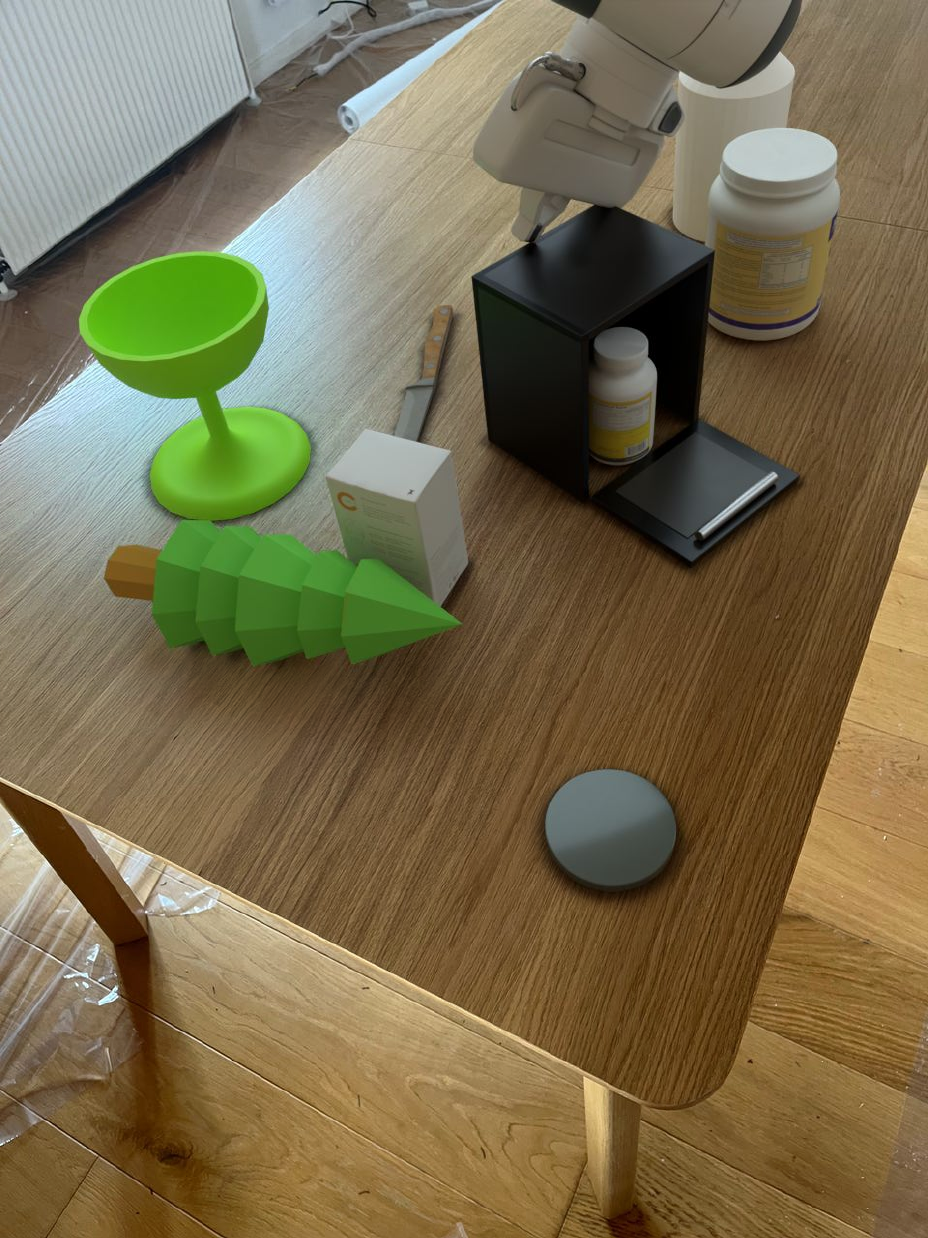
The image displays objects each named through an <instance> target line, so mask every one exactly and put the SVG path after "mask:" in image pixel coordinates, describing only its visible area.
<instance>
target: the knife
mask: <svg viewBox="0 0 928 1238" xmlns="http://www.w3.org/2000/svg"><path fill="white" fill-rule="evenodd" d="M453 316H454V309H453V306H452V305H451V304H443V305H438V306H436V307H435V308H433V310H432V319H433V323H432V327H431V329H430V331H429V333H428V336H427V338H426V340H425V342H424V357H423V368H422V375H421V379H419V380H418V381H415V382H413V383H409V384H407V385H406V387H405V389H404V390H405V391H406V393H405V396H404V399H403V403H402V407H401V411H400V414H399V418H398V421H397V424H396V427H395V431H394V435H393V436H396V437H400V438H404V439H408V440H412V441H415V442H419V439H420V436H421V433H422V429H423V426H424V423H425V420H426V417H427V414H428V411H429V410H430V409H429V408H430V405H431V403H432V400H433V396H434V395H435V393H436V392H435V391H436V389H437V385H438V376H439V371H440V368H441V363H442V359H443V355H444V350H445V346H446V344H447V339H448V336H449V332H450V329H451V324H452V320H453Z"/></svg>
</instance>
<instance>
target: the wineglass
mask: <svg viewBox="0 0 928 1238" xmlns="http://www.w3.org/2000/svg"><path fill="white" fill-rule="evenodd" d="M269 310H270V307H269V299H268V290H267V285H266V281H265V278H264V274H263V273H262V272H261V271H260V270H259V269H258V268H257V267H256V266H255V265H254V263H252V262H251V261H248V260H246V259H244V258H242V257H240V256H238V255H234V254H229V253H225V252H221V251H205V250H204V251H201V250H197V251H196V250H195V251H186V252H185V251H184V252H177V253H171V254H167V255H163V256H160V257H159V256H158V257H155V258H152V259H149V260H146V261H144V262H143V261H142V262H141V263H139V264H136V265H133V266H131V267H129V268H127V269H125V270H123V271H121V272H120V273H118V274H116V275H115V276H113V277H111V278H110V279H108V280H107V281H105V282H104V283H103V284H102V285H101V286H100V287H99V288H97V289H96V290H95V291H94V292H93V293H92V294H91V295H90V297H89V298H88V300H87V301H86V302H85V303H84V305H83V307H82V310H81V313H80V315H79V318H78V327H79V334H80V335H81V337H82V339H83V340H84V343H86V345H87V346H88V348H89V350H90V351H91V353H92V354H93V356H94V357H95V359H96V360H97V362H98V364H99V365H100V366H101V367H103V369H105V370H106V371H107V372H109V374H110V375H111V376H113V377H114V378H115V379H116V380H118V381H120V382H121V383H123V384H124V385H126V387H128V388H131V389H133V390H136V391H139V392H141V393H142V394H146V395H149V396H152V397H155V398H158V399H165V400H166V399H168V400H186V399H195V400H196V401H197V404H198V407H199V411H200V412H201V415H202V416H200V417H197V418H195V419H193V420H190V421H189V422H187V423H186V424H184V425H183V426H181V427H180V428H178V429H177V430H175V431H174V432H173V433H172V434H171V435H170V436H169V437H168V438H167V439H166V440H165V441H164V442H163V443H162V444H161V446H160V447H159V449H158V451H157V452H156V454H155V456H154V457H153V460H152V464H151V467H150V470H149V471H150V472H149V480H150V489H151V492H152V494H153V496H154V497H155V499H156V500H157V502H158V504H160V505H161V506H162V507H164V508H165V509H166V510H167V511H169V512H170V513H172V514H175V515H177V516H180V517H183V518H185V519H187V520H210V521H211V522H213V521H225V520H233V519H237V518H241V517H245V516H248V515H252V514H254V513H256V512H259V511H261V510H263V509H265V508H268V507H269V506H272V505H273V504H275V503H276V502H278V501H279V500H280V499H282V498H283V497H285V496H286V495H288V494H289V493H290V492H291V491H292V490H293V489H294V488H295V487H296V486H297V484H298V483H299V482H300V481H301V480H302V478H303V477H304V475H305V473H306V471H307V470H308V467H309V465H310V463H311V453H312V446H311V443H310V440H309V437H308V434H307V433H306V432H305V431H304V429H303V428H302V426H300V424H299V423H298V422H297V421H296V420H294V419H292V418H290V417H289V416H287V415H286V414H284V413H282V412H280V411H277V410H273V409H269V408H266V407H256V406H239V407H238V406H237V407H227V408H223V407H222V405H221V401H220V399H219V395H218V394H217V392H218V391H220V390H221V389H223V388H224V387H226V386H227V385H229V384H230V383H233V382H234V381H235V380H237V379H238V378H239V377H241V375H242V374H243V373H245V371H246V370H247V369H248V368H249V367H250V366H251V363H252V362H253V360H254V358H255V357H256V355H257V353H258V351H259V350H260V348H261V346H262V344H263V343H264V338H265V333H266V328H267V322H268V316H269Z"/></svg>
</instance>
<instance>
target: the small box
mask: <svg viewBox="0 0 928 1238" xmlns="http://www.w3.org/2000/svg"><path fill="white" fill-rule="evenodd" d="M452 451H453V450H451V449H446V448H442V447H438V446H436V445H435V446H434V445H431V444H427V443H423V442H419V441H418V442H415V441H412V440H408V439H404V438H400V437H396V436H394V435H392V434H388V433H385V432H381V431H377V430H373V429H370V428H365V429H363V430H362V432H361V433H360V434H359V435H358V437H357V438H356V439H355V440H354V442H353V443H352V444H351V446H350V447H349V448H348V449H346V452H344V454H343V455H342V456H341V458H340V459H339V460H338V461H337V462H336V463H335V465H333V467H332V468H331V469H330V470H329V472H328V473H327V474H326V475H325V479H326V483H327V486H328V489H329V493H330V497H331V501H332V504H333V509H334V512H335V517H336V520H337V523H338V527H339V530H340V534H341V538H342V541H343V547H344V548H345V549H344V550H345V553H346V556H347V557H346V558H347V559H348V560H350V561H351V562H352V563H353V564H355V565H356V566H358V564H359V562H360V560H361V559H380V560H381V561H382V562H383V563H385V564H386V565H387V566H389V567H390V568H391V569H392V570H394V571H395V572H396V573H398V574H399V575H400V576H401V577H403V578H404V579H405V580H407V581H408V582H409V583H410V584H412V585H413V586H414V587H416V588H417V589H418V590H419V591H421V592H422V593H423V594H425V595H426V596H427V597H428V598H430V599H431V600H432V601H434V602H435V603H436V604H437V605H439V606H440V607H441V608H442V605H443V604H444V602H445V600H446V599H447V598H448V595H449V594H450V593H451V591H452V590H453V588H454V587H455V585H456V583H457V582H458V581H459V579H460V577H461V576H462V574H463V572H464V571H465V569H466V568H467V566H468V565H469V558H468V549H467V544H466V543H467V542H466V537H465V530H464V523H463V517H462V512H461V505H460V504H461V503H460V498H459V492H458V484H457V477H456V471H455V465H454V459H453V458H454V457H453V452H452Z"/></svg>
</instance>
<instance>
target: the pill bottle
mask: <svg viewBox="0 0 928 1238" xmlns="http://www.w3.org/2000/svg"><path fill="white" fill-rule="evenodd" d="M593 357H594V358H593V359H592V360H591V361H590V362H589V456H590V457H591V458H593V459H594V460H596V462H597V461H598V463H602V464H605V465H609V466H627V465H631V464H634V463H637V462H639V461H640V460H642V459H643V458H644V457H646V456H647V455H648V454H649V452H650V451H651V450H652V447H653V444H654V437H655V421H656V419H655V418H656V404H657V403H656V388H657V371H656V368H655V365H654V364H653V362H652V361H651V360H650V359H649V358H648V340H647V338H646V336H645V335H644V334H643V333H642V332H640V331H638V330H636V329H633V328H629V327H614V328H610V329H607V330H605V331H603V332H601V333H600V334H599V335H598V336H597V337H596V338H595V340H594V343H593Z"/></svg>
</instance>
